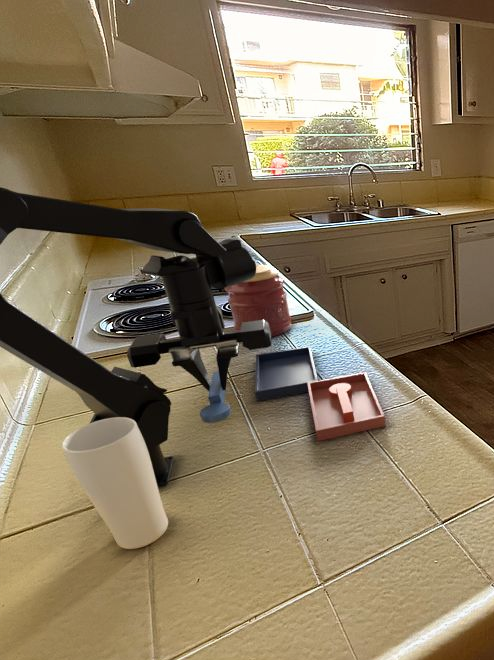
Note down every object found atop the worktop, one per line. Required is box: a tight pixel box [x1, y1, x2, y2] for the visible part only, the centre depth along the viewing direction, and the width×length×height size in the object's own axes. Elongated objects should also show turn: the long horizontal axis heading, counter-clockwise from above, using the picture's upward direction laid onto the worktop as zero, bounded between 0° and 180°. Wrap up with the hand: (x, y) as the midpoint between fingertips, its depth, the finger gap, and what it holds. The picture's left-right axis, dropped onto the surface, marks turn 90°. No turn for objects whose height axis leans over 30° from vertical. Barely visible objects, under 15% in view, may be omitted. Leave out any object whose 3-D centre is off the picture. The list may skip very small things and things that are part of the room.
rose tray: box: [307, 371, 387, 442], centre depth 82 cm, size 17×11×2 cm, turn 23°
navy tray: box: [254, 346, 319, 402], centre depth 93 cm, size 17×11×2 cm, turn 23°
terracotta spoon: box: [329, 383, 354, 423], centre depth 82 cm, size 13×4×2 cm, turn 23°
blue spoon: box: [199, 370, 232, 424], centre depth 73 cm, size 13×4×2 cm, turn 23°
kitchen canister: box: [224, 261, 292, 338], centre depth 111 cm, size 13×13×18 cm
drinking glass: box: [60, 417, 169, 550], centre depth 53 cm, size 7×7×15 cm
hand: (218, 390), depth 75 cm, fingers closed on blue spoon, 2 cm apart
